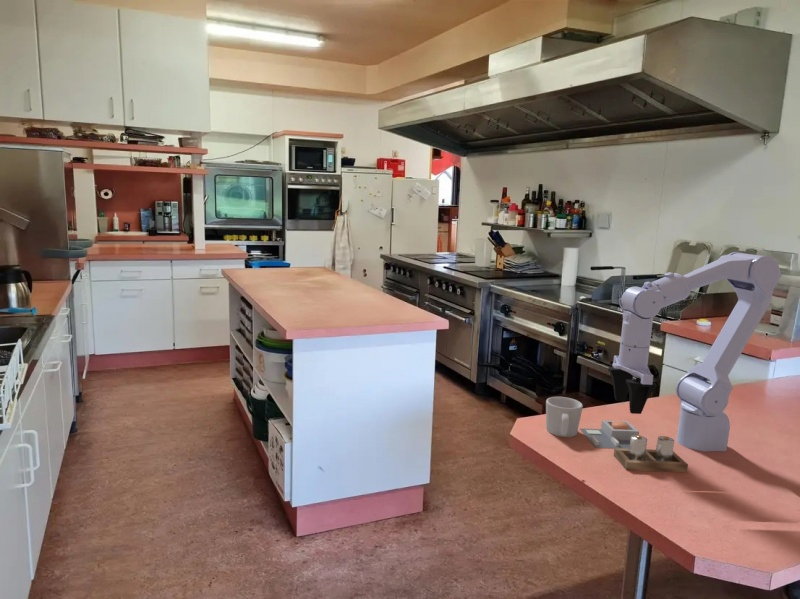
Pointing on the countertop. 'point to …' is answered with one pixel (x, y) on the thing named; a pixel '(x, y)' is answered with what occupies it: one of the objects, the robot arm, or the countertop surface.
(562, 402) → the cup
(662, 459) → the cell
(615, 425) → the button
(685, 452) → the countertop surface
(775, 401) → the countertop surface
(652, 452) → the wooden divided tray
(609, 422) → the grey board with box
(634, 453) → the cylinder
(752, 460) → the countertop surface
